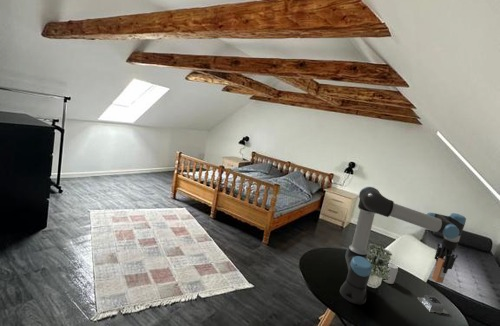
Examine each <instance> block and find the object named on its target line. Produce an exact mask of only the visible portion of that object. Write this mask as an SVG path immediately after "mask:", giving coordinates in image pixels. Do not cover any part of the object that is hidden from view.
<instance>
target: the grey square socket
mask: <svg viewBox="0 0 500 326" xmlns="http://www.w3.org/2000/svg"><path fill="white" fill-rule="evenodd" d="M416 299H417V300H418V301H419V302H420V303H421V304H422V305H423V307H424V308H425V309H426V310H427V311H428V312H429V313H434V312H436V313H435V314H441V313H444V314H443V315H449V312H448V311H447V310H446V309H445V304H444V303H443V301H441V300H440V299H439V298H438V297H437V296H435V295H427V294H424V295H423V297H419V296H417V298H416Z"/></svg>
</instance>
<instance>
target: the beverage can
mask: <svg viewBox="0 0 500 326" xmlns="http://www.w3.org/2000/svg"><path fill="white" fill-rule="evenodd" d="M388 267H389V269H390V271H389V274H390V278H389V279H388V280H382V281H383V282H385V283H387V284H391V285H392V284H395V280H396V277H397V275H398V272H399V271H398V270H399V267H398V266H397V265H396V264H395V263H393V262H389V264H388Z"/></svg>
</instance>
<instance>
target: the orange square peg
mask: <svg viewBox="0 0 500 326" xmlns="http://www.w3.org/2000/svg"><path fill="white" fill-rule="evenodd" d="M437 258H438V257H437ZM436 262H437V264H436V263H435V265H436V266H435V268H434V270H433V274H432V276H431V279H432V280H434V282H435V283H439V284H443V282H444V280H445V277H444V278H443V277H439V276H440V273H441V270H442V267H444V262H445V257H444V258H438V261H436Z"/></svg>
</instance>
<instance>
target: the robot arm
mask: <svg viewBox="0 0 500 326" xmlns="http://www.w3.org/2000/svg"><path fill="white" fill-rule="evenodd" d="M358 195H359V196H358V198H359V202H358V205H357V206H358V207H357V208H358V209H359V212H358V217H357V221H356V225H355V230H354V235H353V238H352V241H351V242H352V244H350V245H348V249H347V250H346V251H345V255H344V256H345V262H346V264H347V265H346V266H347V271H348V273H347V276H346V279H345V281H344V282H342V283H343V284H342V285H341V286H340V289H339V293H340V295H341V297H342V298H343V299H344V300H346V301H348V302H349V303H351V304H354V305H364V304H365V303H366V301H367V287H368V283H369V280H370V278H371V277H370V276H371V273H372V270H373V265H372V263H371V262H370V260H368V253H369V251H368V249H367V246H368V242H369V238H370V235H371V230H372V227H373V222H374V218H375V215H376V214H377V215H380V216H383V217H386V218H389V217H392V218H395V219H397V220H401V221H402V222H406V223H409V224H412V225H415V226H417V227H420V228H424V229H427V230H429V231H432V232H435V233H437V234H440V235H443V238H442V240H441V243H437V249H436V253H435V255H434V260H435V265H434V266H435V267H436V264H437V261H438V258H444V259H445V262H444V267H442V270H441V273H440V276H439V277H443V278H444V279H445V277H446V274H447V273H448V270H453V267H454V264H455V262H456V259H457V258H458V254H456V253H455V251H456V249H457V248H458V245H459V242H460V240H461V236H462V233H463V230H464V227H465V226H466V222H467V221H466V220H467V218H466V217H465V216H464V215H463V214H459V213H454V212H453V213H450V215H445V214H441V213H436V212H427V213H424V212H421V211H418V210H415V209H412V208H409V207H406V206H403V205H401V204H398V203H395V201H393V200H391V199H390V198H389V199H388V198H387V197H385V196H384V195H382V193H380V191H379V189H377V188H375V187H374V186H365V187H363V188H362V189H361V190H360V191H359V193H358Z"/></svg>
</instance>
